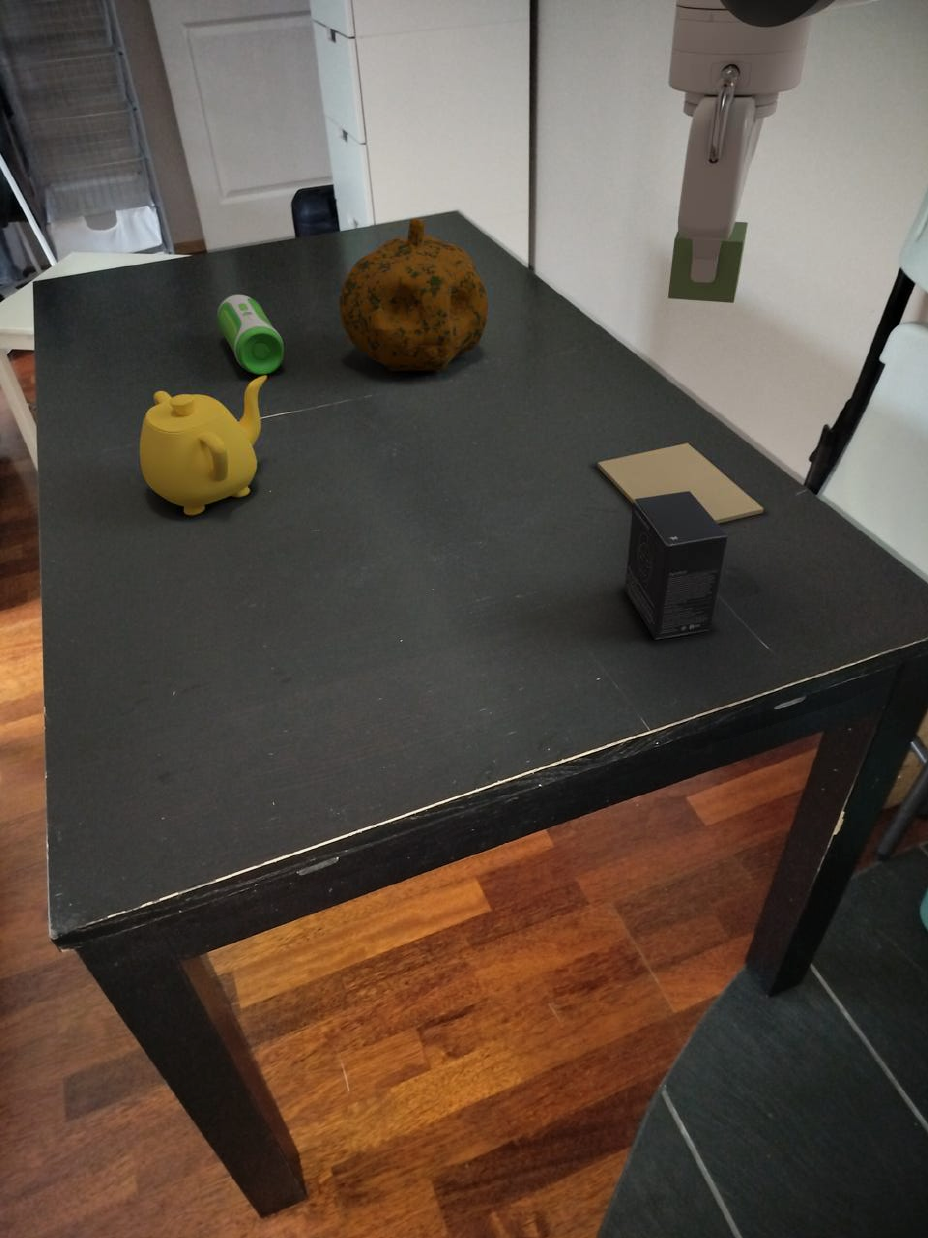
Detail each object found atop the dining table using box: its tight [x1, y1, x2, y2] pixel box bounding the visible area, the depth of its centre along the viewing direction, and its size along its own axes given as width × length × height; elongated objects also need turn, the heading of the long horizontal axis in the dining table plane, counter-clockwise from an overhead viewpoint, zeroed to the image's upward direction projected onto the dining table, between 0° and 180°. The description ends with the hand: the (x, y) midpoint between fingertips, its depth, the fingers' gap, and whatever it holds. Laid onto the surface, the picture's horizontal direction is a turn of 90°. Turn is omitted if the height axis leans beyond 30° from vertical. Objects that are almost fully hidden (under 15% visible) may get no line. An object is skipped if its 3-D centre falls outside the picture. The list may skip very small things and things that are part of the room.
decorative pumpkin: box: [338, 218, 489, 372], centre depth 123 cm, size 20×21×20 cm
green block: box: [667, 221, 749, 304], centre depth 67 cm, size 5×5×4 cm
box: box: [624, 491, 729, 640], centre depth 78 cm, size 8×6×11 cm
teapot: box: [139, 374, 268, 516], centre depth 98 cm, size 14×14×12 cm
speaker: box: [216, 294, 285, 376], centre depth 130 cm, size 18×7×8 cm, turn 23°
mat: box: [597, 442, 764, 525], centre depth 97 cm, size 16×12×1 cm
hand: (707, 265), depth 67 cm, fingers closed on green block, 5 cm apart
